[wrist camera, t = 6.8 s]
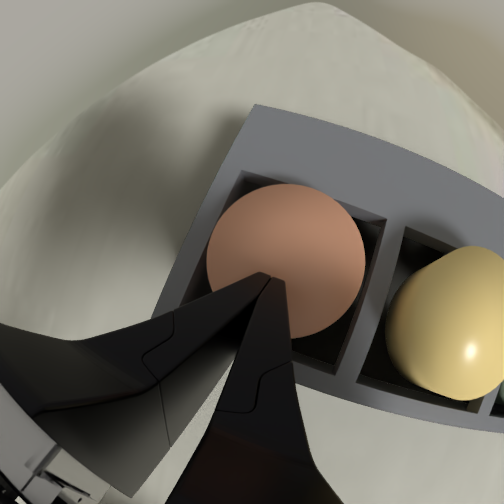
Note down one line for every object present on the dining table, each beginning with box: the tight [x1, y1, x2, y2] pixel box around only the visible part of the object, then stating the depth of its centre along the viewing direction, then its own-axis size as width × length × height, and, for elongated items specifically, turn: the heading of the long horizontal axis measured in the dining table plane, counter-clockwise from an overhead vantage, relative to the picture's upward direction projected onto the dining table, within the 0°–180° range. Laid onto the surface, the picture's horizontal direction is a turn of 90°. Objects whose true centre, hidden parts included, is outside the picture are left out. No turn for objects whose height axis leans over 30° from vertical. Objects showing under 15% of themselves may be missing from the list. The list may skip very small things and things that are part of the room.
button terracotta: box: [207, 184, 365, 338], centre depth 11 cm, size 5×5×3 cm
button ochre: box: [385, 246, 504, 400], centre depth 9 cm, size 5×5×3 cm
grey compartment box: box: [151, 104, 504, 433], centre depth 13 cm, size 11×22×8 cm, turn 68°
